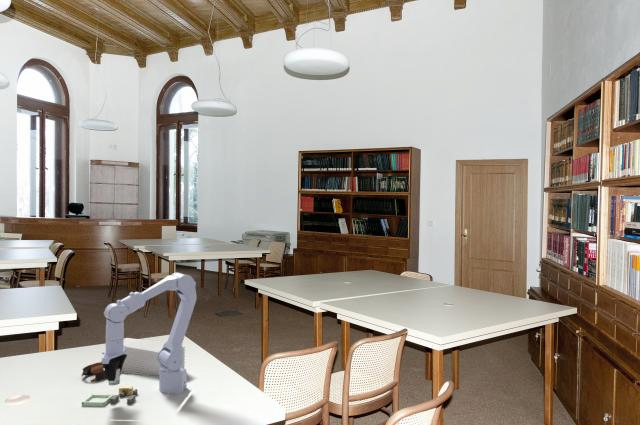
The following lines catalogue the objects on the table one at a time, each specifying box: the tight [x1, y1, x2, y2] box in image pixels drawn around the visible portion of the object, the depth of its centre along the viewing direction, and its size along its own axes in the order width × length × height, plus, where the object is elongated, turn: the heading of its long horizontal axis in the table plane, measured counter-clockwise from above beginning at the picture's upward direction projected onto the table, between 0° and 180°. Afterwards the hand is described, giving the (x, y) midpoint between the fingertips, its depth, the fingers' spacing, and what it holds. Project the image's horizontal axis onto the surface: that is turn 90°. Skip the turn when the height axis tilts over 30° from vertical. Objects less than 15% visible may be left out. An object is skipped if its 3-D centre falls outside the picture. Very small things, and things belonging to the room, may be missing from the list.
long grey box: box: [121, 337, 186, 376], centre depth 203 cm, size 32×11×11 cm, turn 67°
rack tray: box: [81, 393, 114, 407], centre depth 166 cm, size 8×7×2 cm
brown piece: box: [81, 361, 107, 383], centre depth 190 cm, size 12×10×8 cm
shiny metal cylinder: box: [107, 367, 121, 386], centre depth 166 cm, size 4×4×5 cm
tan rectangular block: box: [118, 386, 134, 396], centre depth 173 cm, size 4×2×2 cm, turn 89°
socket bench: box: [109, 388, 138, 405], centre depth 170 cm, size 18×17×3 cm
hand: (114, 378), depth 166 cm, fingers closed on shiny metal cylinder, 4 cm apart
